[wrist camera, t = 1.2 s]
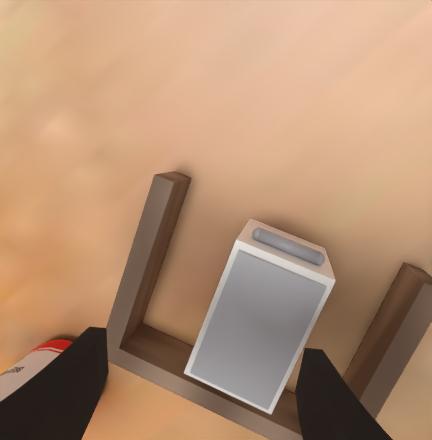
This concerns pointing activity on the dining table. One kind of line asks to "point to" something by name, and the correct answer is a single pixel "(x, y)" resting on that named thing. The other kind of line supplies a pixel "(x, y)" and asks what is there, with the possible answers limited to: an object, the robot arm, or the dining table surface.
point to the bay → (180, 352)
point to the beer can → (30, 366)
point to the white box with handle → (261, 315)
